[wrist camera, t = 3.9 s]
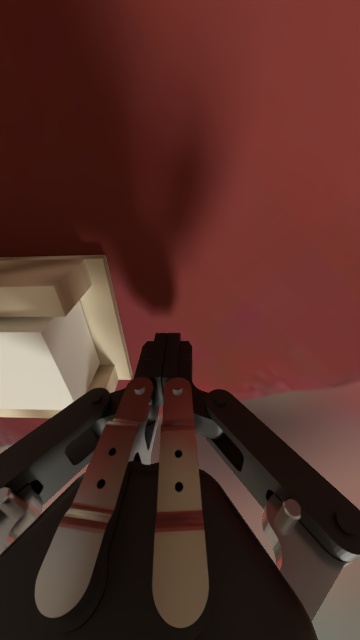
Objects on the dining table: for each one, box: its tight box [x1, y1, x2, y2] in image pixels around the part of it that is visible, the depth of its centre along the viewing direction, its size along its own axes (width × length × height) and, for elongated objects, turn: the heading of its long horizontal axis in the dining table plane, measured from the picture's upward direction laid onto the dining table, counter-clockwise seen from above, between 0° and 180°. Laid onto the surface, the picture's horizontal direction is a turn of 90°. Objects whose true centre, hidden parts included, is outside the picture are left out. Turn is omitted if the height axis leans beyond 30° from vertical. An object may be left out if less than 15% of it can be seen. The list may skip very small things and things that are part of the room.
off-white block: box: [0, 301, 100, 410], centre depth 14 cm, size 8×6×4 cm
